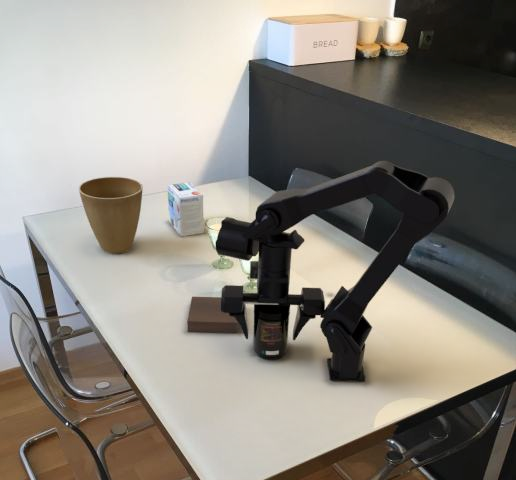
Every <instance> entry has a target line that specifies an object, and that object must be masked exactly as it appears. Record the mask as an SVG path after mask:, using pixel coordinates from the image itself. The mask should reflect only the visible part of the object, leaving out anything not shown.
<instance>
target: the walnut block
mask: <svg viewBox="0 0 516 480" xmlns="http://www.w3.org/2000/svg"><path fill="white" fill-rule="evenodd" d="M189 306H190V307H189V310H188V315H187V321H186V322H187V332H188V333H218V334H219V333H220V334H222V333H223V334H238V330H239V329H238V327H239V326H238V325H239V323H238V322H237V320H236V319H235V317H231V316H229V313H223V312H222V311H221V296H192V297H191V299H190V305H189Z"/></svg>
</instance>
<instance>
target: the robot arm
mask: <svg viewBox="0 0 516 480" xmlns="http://www.w3.org/2000/svg"><path fill="white" fill-rule="evenodd" d="M372 195H376V196H378V197H380V198H382V199H383V200H384V201H386V203H388V204H389V205H390V206H392V207H393V208H394V209H395V210H396V211H398V212H400V213H402V216H401V218H400V221H399V223H398V224H397V227H396V229H395V230H394V232H393V233H392V235H391V236H390V237H389V239H388V240H387V241H386V242H385V244H384V245H383V247H381V250H380V251H379V252H378V253H377V255H376V256H375V258H373V260H372V262H370V263H369V265H368V267H367V268H366V269H365V271H364V272H363V273H362V275H361V276H360V277H359V279H358V280H357V282H356V283H355V284H354V285H353V286H352V287H351V288H349V289H346V288H345V287H344V285H341V286H340V288H339V289H338V290H337V292H336V293H335V295H334V296H333V298H331V299H330V301H329V303H328V304H327V305H326V300H325V295H324V291H323V289H322V288H321V287H304V286H303V287H301V289H300V290H301V292H300V294H295V293H294V294H292V293H291V294H290V279H291V265H292V251H293V250H298V249H299V248H300V247H301V246H302V245H303V244H304V242H305V238H304V237H303V236H302V235H300V234H299V233H298V230H296V229H293V231H291V232H286V231H287V230H290V229H291V228H293V227H295V226H296V225H298V224H299V223H300V222H302V221H304V220H306V219H307V218H309V217H311V216H312V215H315V214H319V213H322V212H324V211H328V210H330V209H334V208H337V207H340V206H343V205H345V204H349V203H352V202H354V201H355V202H356V201H357V200H361V199H364V198H367V197H370V196H372ZM455 196H456V195H455V190H454V187H453V186H452V183H450V182H449V181H448V180H446V179H445V178H442V177H436V176H433V177H430V176H427V175H426V174H423V173H422V172H419V171H417V170H416V171H415V170H412V169H408V168H405V167H401V166H398V165H397V164H394V163H392V162H390V161H387V160H379V161H377V162H375V163H374V164H372V165H370V166H367V167H365V168H361V169H359V170H356V171H353V172H351V173H348V174H347V173H346V174H345V175H342V176H339V177H337V178H334V179H331V180H328V181H326V182H323V183H320V184H317V185H315V186H314V185H313V186H311V187H306V188H290V189H289V188H288V189H283V190H277V191H276V192H273V193H272V194H271V195H270V196H269V197H268V198H266V199H265V200H264V201H262V202H261V203H260V204H259V205H258V206H257V207H256V210H255V218H254V219H253V221H251V222H249V221H243V220H239V219H236V218H234V217H229V216H226V217H225V218H224V219H222V220H221V222H220V224H221V225H220V228H219V230H218V232H217V237H216V240H215V251H216V253H217V254H218V255H221V256H224V257H229V258H233V259H238V260H241V261H242V260H243V261H247V262H249V279H251V280H256V290H257V291H256V292H244V285H230V284H228V285H227V284H225V285H224V286H223V287H222V288H221V294H220V295H221V296H220V297H221V311H222V312H223V313H229V316H231V317H235V319H236V320H237V322H238V325H239V327H240V329H241V331H242V333H243V336H244V338H245V339H246V340H249V322H248V316H247V315H248V314H247V305H254V304H261V305H290V306H296V307H297V310H296V314H295V320H294V324H293V330H292V341H296V340H297V338H298V336H299V334H300V333H301V331H302V330H303V329H304V327H305V326H306V325H307V323H308V322H309V321H310V320H313V319H316V317H317V316H320V319H322V320H321V321H320V325H319V327H320V329H321V333H322V334H323V336H324V337H325V339H326V340H327V345H328V348H329V352H330V353H331V357H329V358H328V357H327V359H326V364H327V365H326V366H327V371H328V377H329V380H330V381H333V382H359V383H360V382H366V374H365V370H364V366H363V363H364V355H365V350H366V341H367V339H368V338H369V335H370V333H371V331H372V330H373V326H372V325H371V324H370V322H369V321H368V319H367V318H366V317H365V316H364V314H365V312H366V309H368V308H367V307H368V305H369V303H370V302H371V301H372V300H373V298H374V297H375V296H376V295H377V293H378V292H379V291H380V289H381V288H382V287H383V286H384V284H385V283H386V282H387V281H388V280H389V278H390V277H391V275H392V274H393V273H394V272H395V270H396V269H397V268H398V266H399V265H400V264H401V263H402V262H403V260H404V258H406V256H407V255H408V254H409V252H410V251H411V250H412V249H413V248H414V247H415V246H416V245H417V244H418V243H419V242H421V241H422V240H423V239H425V238H427V237H428V236H429V235H430V234H431V233H432V232H434V231H435V230H436V229H437V228H438V227H439V226H441V225H442V224H443V223H444V222H445V220H446V218H447V217H448V215H449V212H450V210H451V208H452V206H453V203H454V201H455ZM257 256H258V260H251V259H252V258H253V257H257Z"/></svg>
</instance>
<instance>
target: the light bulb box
mask: <svg viewBox="0 0 516 480" xmlns="http://www.w3.org/2000/svg"><path fill="white" fill-rule="evenodd" d="M167 202H168V203H167V204H168V222H169V223H170V224H171V226H172V227H173V228H174V230H175V231H176V233H178V235H179V236H180V237H186V236H194V235H199V234H204V233H205V228H204V224H205V223H204V194H203V193H202V192H201V191H200V190H199V189H198V188H197V187H195V185H194V184H193V183H192V182H188V181H187V182H182V183H181V182H180V183H173V184H167Z"/></svg>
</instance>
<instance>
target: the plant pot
mask: <svg viewBox="0 0 516 480" xmlns="http://www.w3.org/2000/svg"><path fill="white" fill-rule="evenodd" d="M143 188H144V186H143V184H142V183H141V182H140V181H138V180H137V179H134V178H129V177H124V176H123V177H122V176H103V177H96V178H95V177H94V178H91V179H89V180H88V179H87V180H85V181H83V182H82V183H81V184H79V186H78V192H79V196H80V199H81V203H82V206H83V210H84V212H85V215H86V219H87V221H88V223H89V225H90V228H91V230H92V233H93V234H94V237H95V240H96V241H97V242H98V245H99V246H100V248H101V250H102V251H103V252H105V253H106V254H107V253H108V254H113V255H119V254H120V255H121V254H124V253H127V252H129V251H131V249H132V248H133V244H134V241H135V238H136V233H137V232H138V231H137V230H138V226H139V221H140V217H141V216H140V215H141V210H142V199H143Z"/></svg>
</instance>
